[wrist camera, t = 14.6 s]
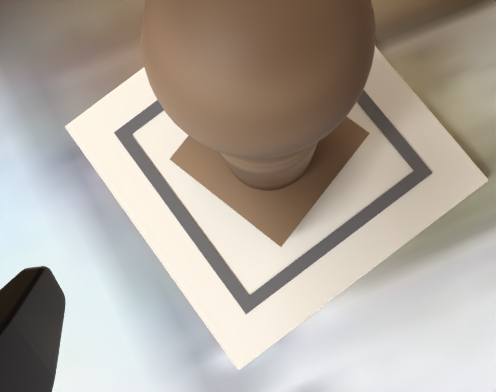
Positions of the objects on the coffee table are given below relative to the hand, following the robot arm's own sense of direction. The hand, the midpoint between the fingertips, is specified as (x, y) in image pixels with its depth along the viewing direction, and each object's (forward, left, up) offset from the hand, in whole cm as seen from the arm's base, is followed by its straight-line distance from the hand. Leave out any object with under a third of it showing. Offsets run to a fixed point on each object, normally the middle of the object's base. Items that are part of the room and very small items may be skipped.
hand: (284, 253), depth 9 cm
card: (+2, +3, -10) cm, 10 cm away
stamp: (+2, +3, -9) cm, 10 cm away
